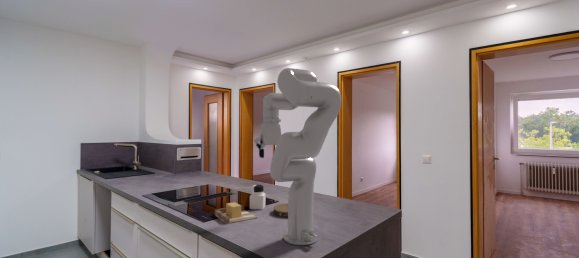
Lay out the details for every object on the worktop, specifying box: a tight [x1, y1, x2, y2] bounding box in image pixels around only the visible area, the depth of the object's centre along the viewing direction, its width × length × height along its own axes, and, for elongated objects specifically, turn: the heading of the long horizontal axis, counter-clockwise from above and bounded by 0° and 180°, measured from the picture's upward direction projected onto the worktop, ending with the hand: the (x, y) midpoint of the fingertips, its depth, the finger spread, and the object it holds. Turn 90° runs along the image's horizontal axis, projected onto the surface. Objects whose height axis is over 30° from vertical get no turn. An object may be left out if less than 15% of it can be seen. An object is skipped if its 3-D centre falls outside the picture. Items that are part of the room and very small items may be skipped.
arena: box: [213, 204, 258, 225], centre depth 130 cm, size 16×15×2 cm
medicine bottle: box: [249, 184, 266, 210], centre depth 146 cm, size 7×7×12 cm
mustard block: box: [225, 201, 241, 218], centre depth 131 cm, size 4×8×5 cm, turn 35°
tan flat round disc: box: [273, 202, 288, 219], centre depth 137 cm, size 16×16×3 cm
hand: (270, 157), depth 131 cm, fingers open, 9 cm apart
